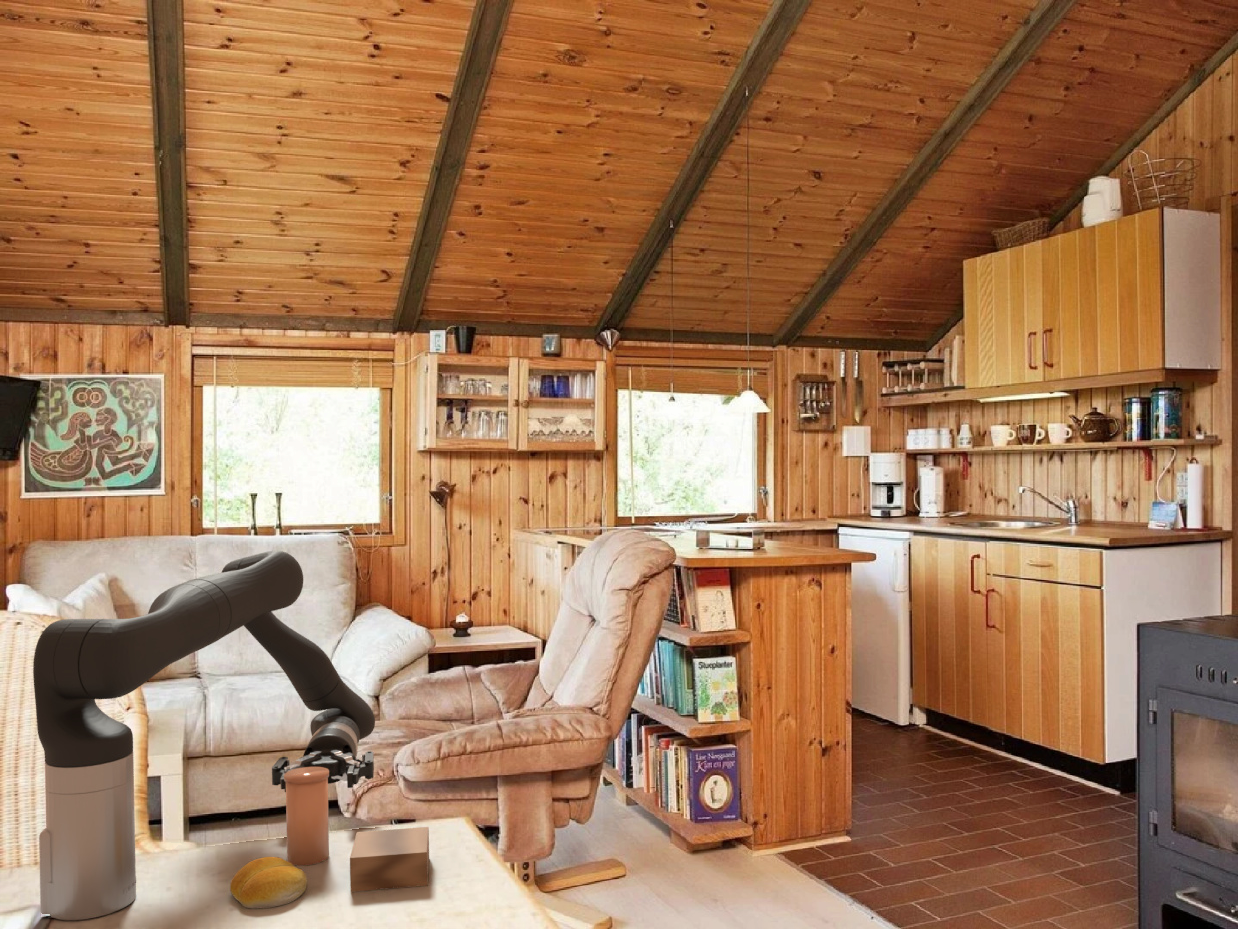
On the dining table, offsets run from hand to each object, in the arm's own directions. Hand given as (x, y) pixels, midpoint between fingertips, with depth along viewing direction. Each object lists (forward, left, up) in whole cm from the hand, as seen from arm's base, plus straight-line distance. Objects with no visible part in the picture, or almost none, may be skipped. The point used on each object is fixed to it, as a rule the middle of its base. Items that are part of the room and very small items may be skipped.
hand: (318, 783), depth 146 cm
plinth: (+11, -19, -6) cm, 23 cm away
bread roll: (-3, -22, -7) cm, 23 cm away
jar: (0, -11, -6) cm, 13 cm away
